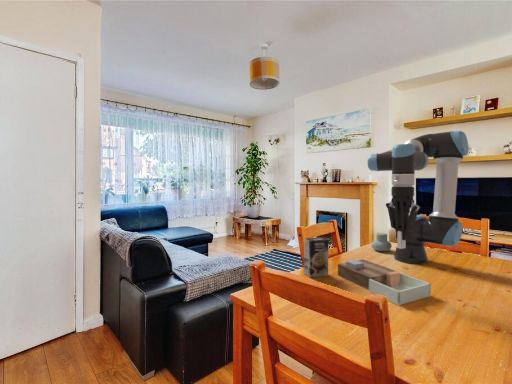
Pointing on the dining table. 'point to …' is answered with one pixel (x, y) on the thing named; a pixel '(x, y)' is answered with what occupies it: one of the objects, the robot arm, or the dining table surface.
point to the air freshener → (381, 243)
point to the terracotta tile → (393, 279)
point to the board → (364, 273)
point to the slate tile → (355, 264)
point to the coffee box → (316, 256)
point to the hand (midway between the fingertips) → (401, 247)
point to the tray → (402, 290)
